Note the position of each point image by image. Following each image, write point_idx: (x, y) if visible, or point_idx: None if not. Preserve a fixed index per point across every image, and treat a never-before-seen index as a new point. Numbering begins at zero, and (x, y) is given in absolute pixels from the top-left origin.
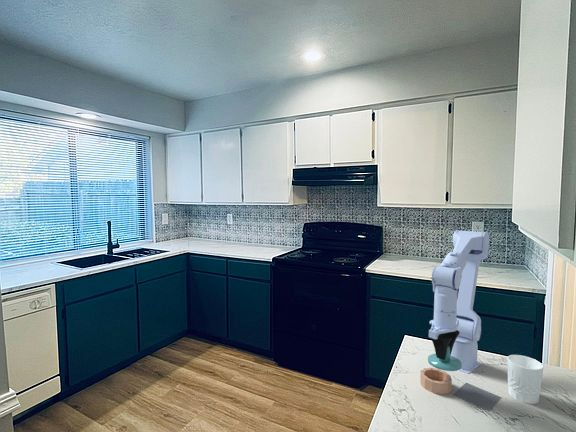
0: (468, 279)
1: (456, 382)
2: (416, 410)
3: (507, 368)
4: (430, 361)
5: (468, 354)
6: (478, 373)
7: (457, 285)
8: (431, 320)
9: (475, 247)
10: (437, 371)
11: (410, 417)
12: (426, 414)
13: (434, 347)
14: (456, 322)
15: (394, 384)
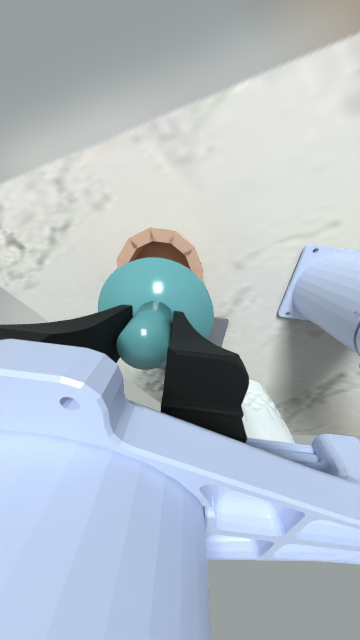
0: None
1: (220, 301)
2: (44, 269)
3: (257, 421)
4: (107, 282)
5: (327, 332)
6: (298, 329)
7: None
8: (33, 384)
9: None
10: (191, 270)
11: (14, 269)
12: (53, 290)
13: (91, 315)
14: (255, 555)
15: (84, 168)
